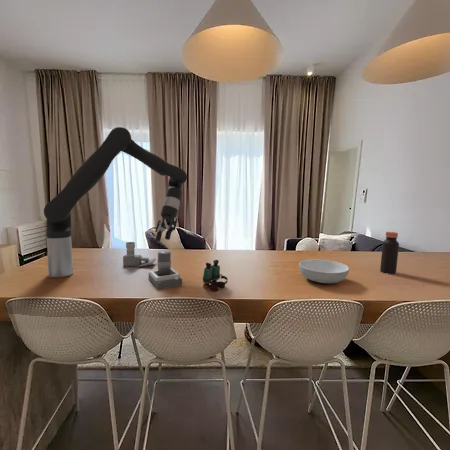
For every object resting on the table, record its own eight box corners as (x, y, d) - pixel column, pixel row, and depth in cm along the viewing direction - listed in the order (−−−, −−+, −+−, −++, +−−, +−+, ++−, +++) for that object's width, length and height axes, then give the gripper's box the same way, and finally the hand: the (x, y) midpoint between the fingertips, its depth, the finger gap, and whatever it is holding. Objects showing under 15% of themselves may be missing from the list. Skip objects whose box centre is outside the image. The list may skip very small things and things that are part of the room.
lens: (159, 278, 110) (159, 254, 109) (156, 274, 115) (156, 251, 113) (172, 277, 113) (172, 253, 111) (168, 273, 117) (168, 250, 116)
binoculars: (219, 269, 100) (200, 262, 106) (216, 295, 102) (198, 287, 108) (234, 264, 107) (215, 257, 113) (231, 289, 109) (213, 281, 115)
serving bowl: (289, 275, 126) (289, 261, 125) (325, 271, 134) (326, 257, 133) (319, 291, 107) (320, 274, 106) (359, 285, 114) (360, 269, 113)
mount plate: (157, 289, 105) (157, 279, 105) (148, 278, 117) (148, 269, 117) (181, 285, 110) (181, 275, 110) (170, 275, 122) (170, 266, 122)
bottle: (396, 271, 135) (400, 232, 132) (395, 275, 129) (400, 234, 126) (380, 269, 138) (384, 231, 136) (379, 272, 133) (383, 232, 130)
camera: (126, 241, 140) (155, 241, 141) (127, 262, 142) (155, 263, 142) (120, 244, 132) (151, 245, 132) (121, 267, 133) (151, 268, 134)
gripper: (156, 207, 132) (147, 239, 127) (171, 202, 122) (163, 236, 117) (169, 213, 137) (161, 243, 132) (185, 208, 127) (177, 241, 121)
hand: (162, 240), depth 124 cm, fingers open, 8 cm apart
